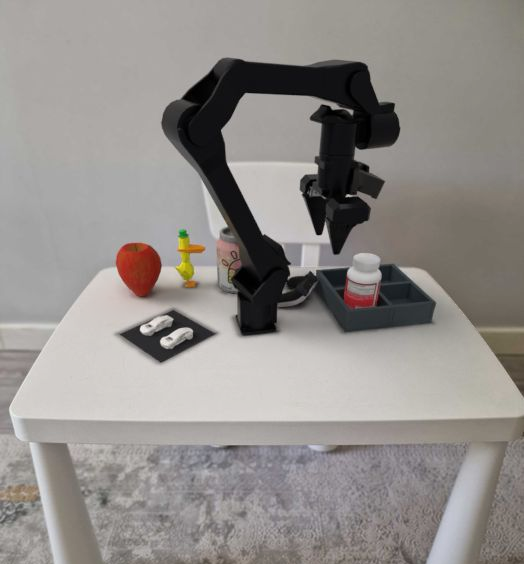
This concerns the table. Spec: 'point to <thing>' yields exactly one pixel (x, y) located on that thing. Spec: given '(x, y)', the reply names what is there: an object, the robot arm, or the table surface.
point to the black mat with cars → (167, 335)
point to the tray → (390, 305)
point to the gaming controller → (298, 289)
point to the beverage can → (227, 259)
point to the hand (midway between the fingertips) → (327, 244)
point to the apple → (138, 267)
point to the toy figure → (187, 257)
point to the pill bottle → (363, 281)
